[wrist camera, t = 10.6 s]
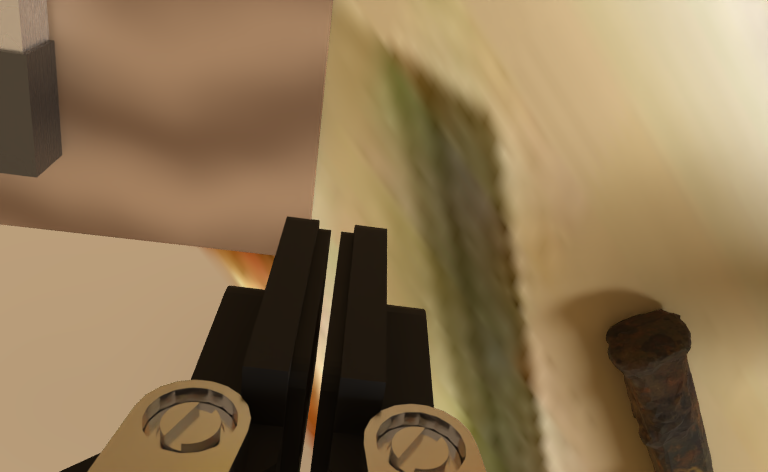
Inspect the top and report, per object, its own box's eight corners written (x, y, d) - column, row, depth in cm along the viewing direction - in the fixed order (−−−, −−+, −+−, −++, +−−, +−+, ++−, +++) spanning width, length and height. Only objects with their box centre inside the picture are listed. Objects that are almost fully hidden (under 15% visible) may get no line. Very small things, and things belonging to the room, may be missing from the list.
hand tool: (594, 320, 37) (621, 376, 33) (670, 299, 36) (707, 353, 32) (652, 548, 45) (679, 616, 41) (715, 534, 45) (749, 602, 40)
